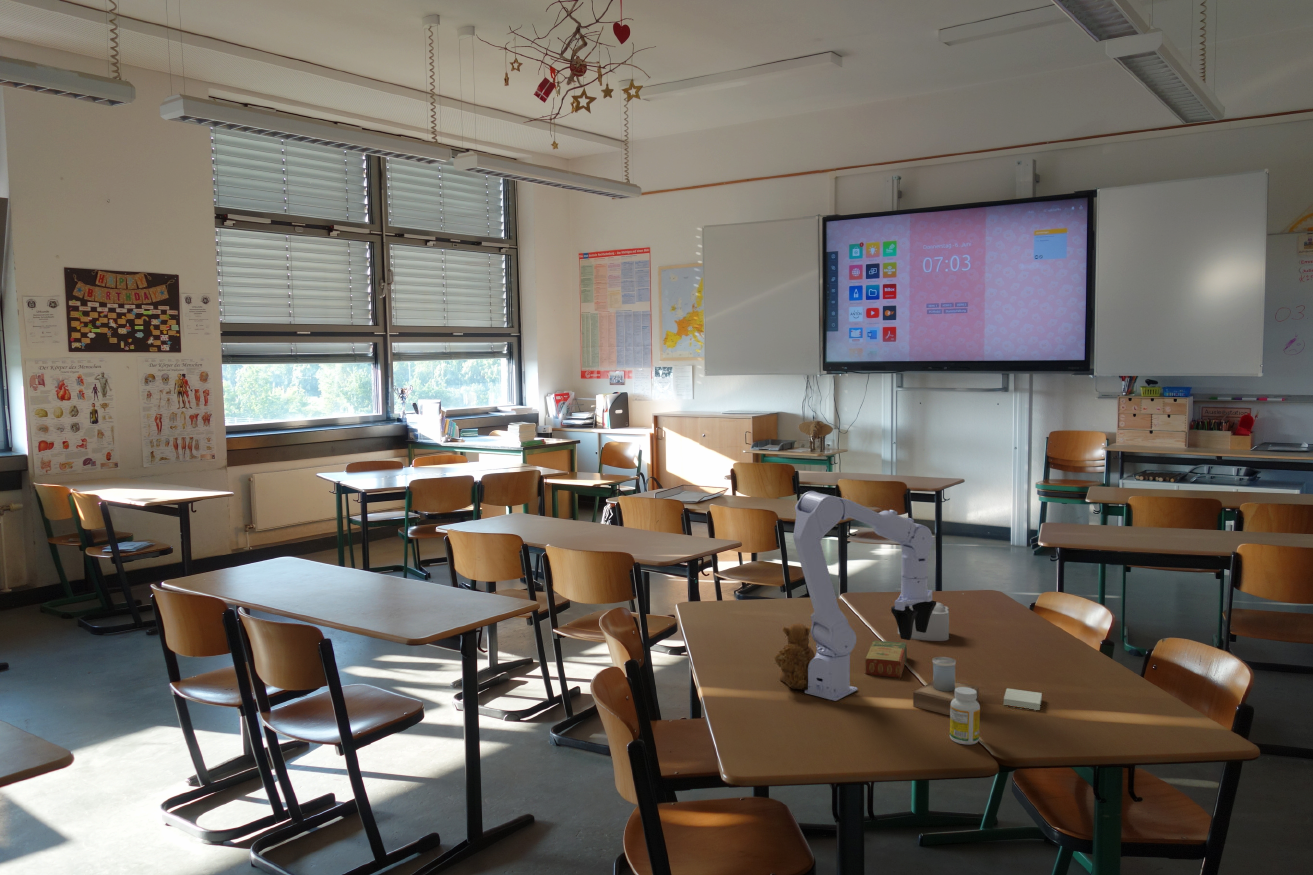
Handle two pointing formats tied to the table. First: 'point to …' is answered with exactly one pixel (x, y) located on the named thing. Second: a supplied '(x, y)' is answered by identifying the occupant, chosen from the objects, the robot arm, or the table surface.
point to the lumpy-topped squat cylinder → (934, 625)
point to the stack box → (937, 698)
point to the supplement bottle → (964, 716)
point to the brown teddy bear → (795, 657)
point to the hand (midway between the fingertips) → (913, 635)
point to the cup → (944, 674)
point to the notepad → (1023, 699)
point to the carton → (886, 658)
